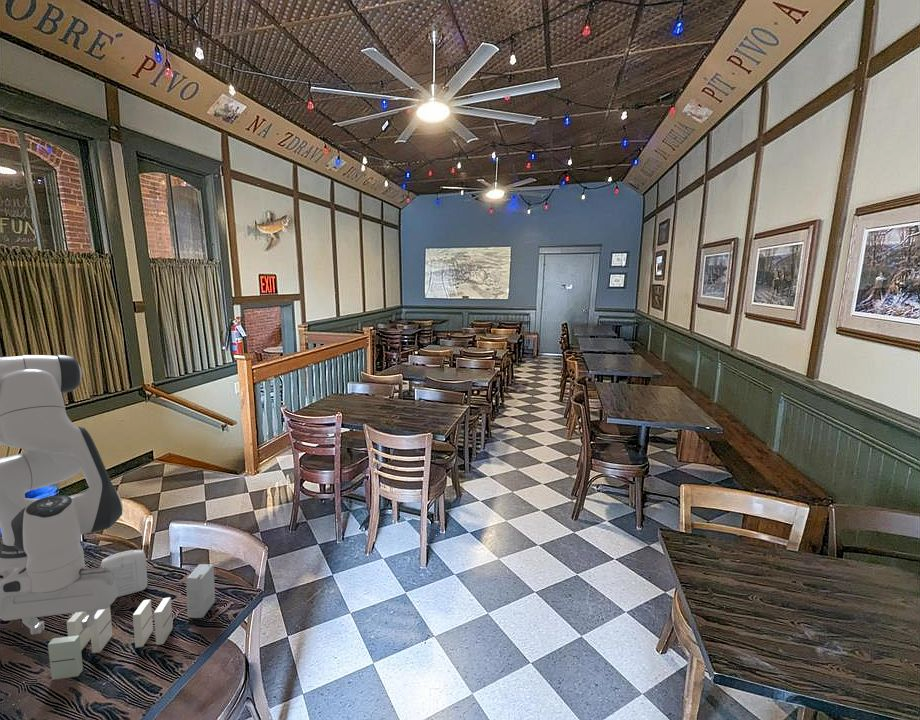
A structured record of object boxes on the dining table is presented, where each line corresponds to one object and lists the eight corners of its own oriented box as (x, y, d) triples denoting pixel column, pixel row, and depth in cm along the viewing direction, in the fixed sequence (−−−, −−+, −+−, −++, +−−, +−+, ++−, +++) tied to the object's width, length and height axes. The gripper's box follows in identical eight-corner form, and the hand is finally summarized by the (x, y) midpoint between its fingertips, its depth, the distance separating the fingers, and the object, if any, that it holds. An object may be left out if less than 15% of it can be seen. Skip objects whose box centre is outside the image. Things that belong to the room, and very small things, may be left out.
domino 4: (156, 645, 101) (153, 612, 99) (165, 629, 106) (163, 598, 104) (163, 644, 101) (161, 611, 100) (172, 628, 106) (170, 597, 105)
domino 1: (70, 655, 97) (66, 622, 95) (84, 638, 102) (80, 606, 100) (78, 654, 97) (74, 621, 96) (91, 637, 102) (88, 605, 101)
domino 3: (135, 647, 100) (132, 615, 98) (145, 631, 105) (143, 600, 103) (142, 646, 100) (140, 614, 99) (153, 630, 105) (150, 599, 104)
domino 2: (92, 653, 98) (89, 619, 96) (105, 636, 103) (102, 604, 101) (100, 652, 98) (97, 618, 97) (112, 635, 103) (109, 603, 102)
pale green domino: (78, 676, 92) (74, 641, 91) (51, 679, 91) (47, 644, 89) (83, 669, 93) (79, 635, 92) (57, 673, 92) (53, 638, 91)
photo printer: (148, 581, 122) (145, 543, 120) (147, 590, 119) (144, 551, 117) (103, 593, 117) (100, 554, 115) (100, 603, 113) (97, 562, 111)
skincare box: (200, 601, 115) (198, 563, 113) (216, 602, 115) (214, 563, 114) (186, 618, 109) (184, 578, 107) (203, 619, 109) (201, 578, 108)
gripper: (121, 557, 94) (125, 611, 96) (12, 567, 89) (20, 624, 91) (104, 575, 88) (109, 632, 89) (-14, 587, 83) (-5, 647, 85)
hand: (63, 628), depth 90 cm, fingers open, 8 cm apart
